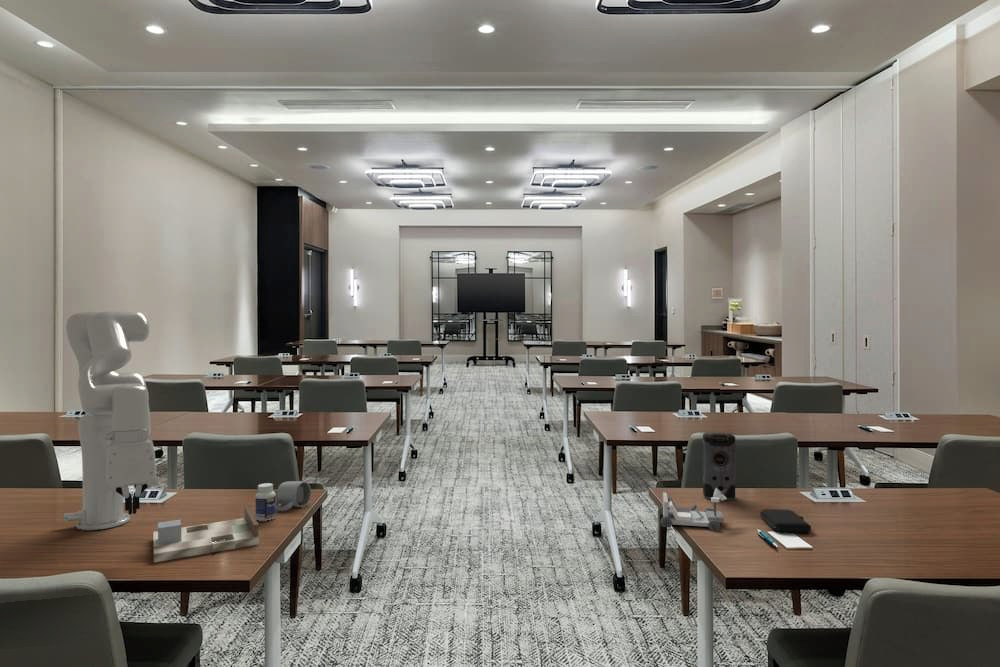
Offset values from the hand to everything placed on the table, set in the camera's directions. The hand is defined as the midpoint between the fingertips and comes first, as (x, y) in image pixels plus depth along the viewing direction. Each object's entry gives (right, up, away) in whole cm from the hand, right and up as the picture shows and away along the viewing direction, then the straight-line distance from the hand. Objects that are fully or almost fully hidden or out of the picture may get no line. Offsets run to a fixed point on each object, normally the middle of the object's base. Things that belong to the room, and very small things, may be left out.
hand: (132, 512), depth 147 cm
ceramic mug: (+25, -10, +39) cm, 47 cm away
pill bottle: (+22, -10, +27) cm, 36 cm away
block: (+6, -8, +5) cm, 11 cm away
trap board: (+13, -10, +9) cm, 19 cm away
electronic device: (+158, -9, +46) cm, 165 cm away
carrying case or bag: (+167, -10, +19) cm, 168 cm away
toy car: (+143, -10, +22) cm, 145 cm away
